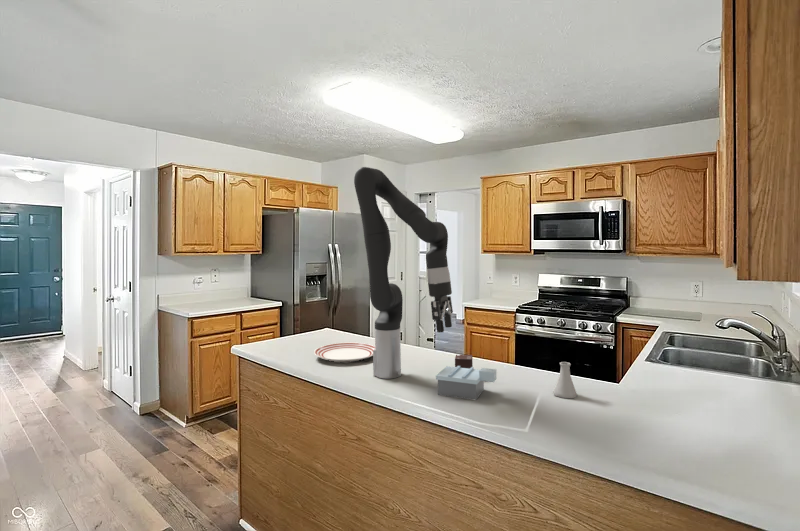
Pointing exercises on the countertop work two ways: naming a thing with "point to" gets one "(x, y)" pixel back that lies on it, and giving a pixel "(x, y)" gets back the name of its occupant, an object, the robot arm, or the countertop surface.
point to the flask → (565, 383)
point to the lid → (467, 375)
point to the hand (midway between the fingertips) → (444, 329)
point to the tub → (460, 389)
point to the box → (463, 361)
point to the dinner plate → (345, 351)
